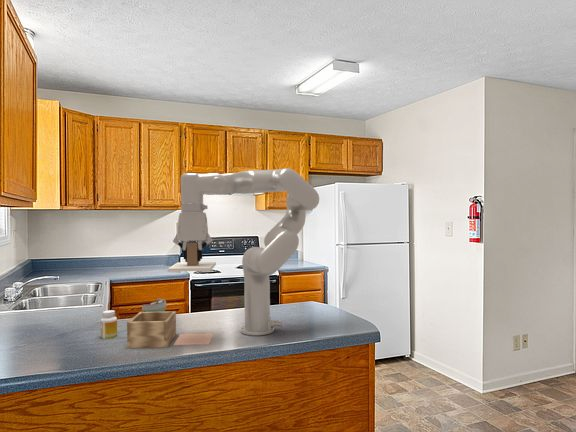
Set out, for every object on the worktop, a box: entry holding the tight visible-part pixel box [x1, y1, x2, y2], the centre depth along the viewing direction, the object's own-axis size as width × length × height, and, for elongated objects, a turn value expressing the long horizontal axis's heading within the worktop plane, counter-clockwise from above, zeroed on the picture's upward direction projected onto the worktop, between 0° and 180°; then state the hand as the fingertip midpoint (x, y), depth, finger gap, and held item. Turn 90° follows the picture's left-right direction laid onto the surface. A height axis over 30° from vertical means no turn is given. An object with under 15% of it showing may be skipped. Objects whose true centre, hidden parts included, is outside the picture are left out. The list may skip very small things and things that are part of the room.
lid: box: [167, 241, 217, 273], centre depth 151 cm, size 14×15×9 cm
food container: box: [141, 298, 168, 312], centre depth 169 cm, size 12×6×10 cm, turn 168°
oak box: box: [126, 311, 177, 349], centre depth 150 cm, size 13×14×9 cm
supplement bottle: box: [100, 309, 118, 340], centre depth 155 cm, size 5×5×10 cm
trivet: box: [172, 333, 214, 346], centre depth 152 cm, size 12×12×1 cm
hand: (193, 260), depth 151 cm, fingers closed on lid, 3 cm apart
